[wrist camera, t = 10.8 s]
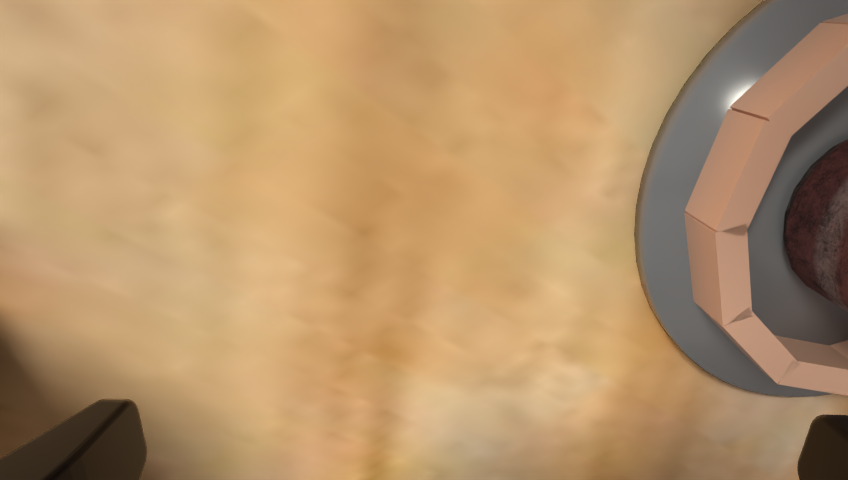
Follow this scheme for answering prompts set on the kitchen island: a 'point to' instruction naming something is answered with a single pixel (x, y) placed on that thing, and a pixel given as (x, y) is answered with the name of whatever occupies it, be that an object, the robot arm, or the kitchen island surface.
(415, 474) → the kitchen island surface
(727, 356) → the ring tray
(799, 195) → the can
